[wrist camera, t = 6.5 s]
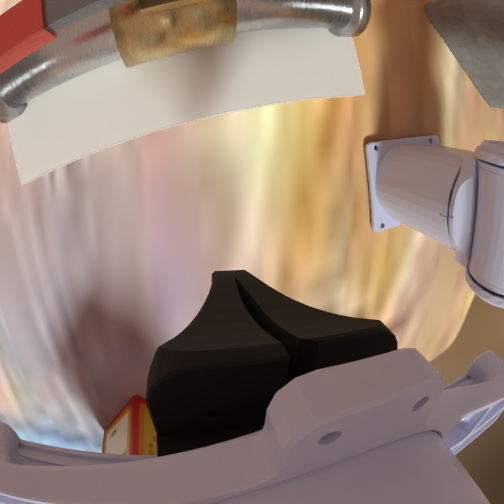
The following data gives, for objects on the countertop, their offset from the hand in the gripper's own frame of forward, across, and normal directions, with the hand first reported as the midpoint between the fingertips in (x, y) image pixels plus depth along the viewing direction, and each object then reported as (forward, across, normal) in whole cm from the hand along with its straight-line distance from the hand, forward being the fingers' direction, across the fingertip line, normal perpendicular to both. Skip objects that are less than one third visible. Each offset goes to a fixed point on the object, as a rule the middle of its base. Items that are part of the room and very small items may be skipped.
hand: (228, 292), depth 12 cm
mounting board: (+10, +3, -14) cm, 18 cm away
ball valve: (+10, +3, -14) cm, 18 cm away
